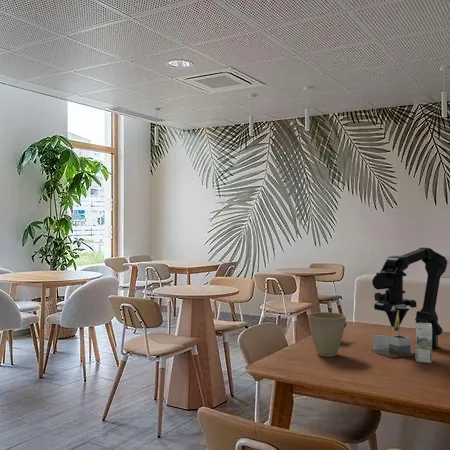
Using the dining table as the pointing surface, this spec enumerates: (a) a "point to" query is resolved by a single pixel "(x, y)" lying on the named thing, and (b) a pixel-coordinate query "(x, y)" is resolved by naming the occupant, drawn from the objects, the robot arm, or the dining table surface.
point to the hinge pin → (396, 322)
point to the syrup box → (423, 342)
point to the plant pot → (327, 332)
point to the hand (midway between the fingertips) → (395, 326)
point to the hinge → (392, 346)
